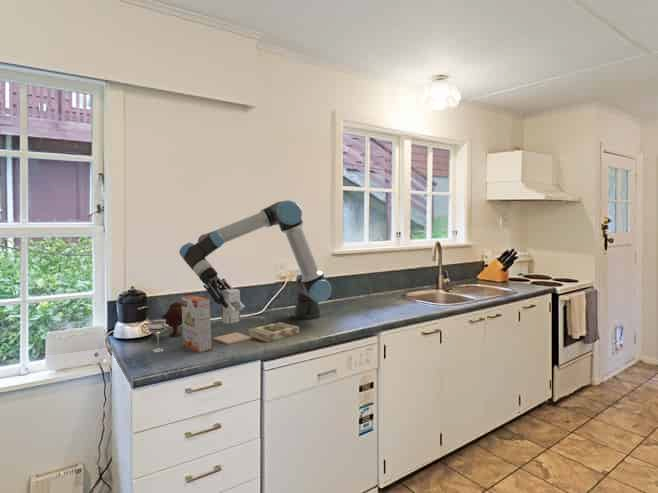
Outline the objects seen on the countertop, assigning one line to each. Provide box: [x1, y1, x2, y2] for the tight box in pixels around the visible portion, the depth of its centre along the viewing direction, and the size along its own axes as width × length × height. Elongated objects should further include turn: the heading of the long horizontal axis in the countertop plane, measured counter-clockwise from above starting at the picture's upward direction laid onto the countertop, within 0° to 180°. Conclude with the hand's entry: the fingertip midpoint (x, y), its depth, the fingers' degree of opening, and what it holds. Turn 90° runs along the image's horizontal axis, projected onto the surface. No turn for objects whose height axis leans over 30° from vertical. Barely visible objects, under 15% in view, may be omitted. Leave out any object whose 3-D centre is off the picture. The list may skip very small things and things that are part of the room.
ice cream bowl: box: [161, 301, 183, 338], centre depth 189 cm, size 11×11×15 cm
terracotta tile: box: [212, 331, 253, 346], centre depth 183 cm, size 12×12×1 cm
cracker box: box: [181, 294, 212, 354], centre depth 170 cm, size 14×6×21 cm, turn 45°
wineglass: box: [148, 318, 168, 353], centre depth 168 cm, size 7×7×12 cm
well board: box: [248, 321, 300, 343], centre depth 189 cm, size 18×14×3 cm
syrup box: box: [221, 288, 241, 325], centre depth 182 cm, size 6×6×14 cm
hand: (237, 310), depth 181 cm, fingers closed on syrup box, 7 cm apart
